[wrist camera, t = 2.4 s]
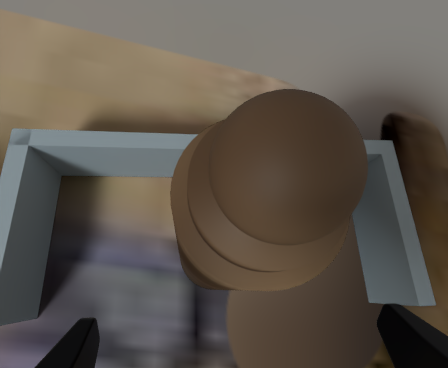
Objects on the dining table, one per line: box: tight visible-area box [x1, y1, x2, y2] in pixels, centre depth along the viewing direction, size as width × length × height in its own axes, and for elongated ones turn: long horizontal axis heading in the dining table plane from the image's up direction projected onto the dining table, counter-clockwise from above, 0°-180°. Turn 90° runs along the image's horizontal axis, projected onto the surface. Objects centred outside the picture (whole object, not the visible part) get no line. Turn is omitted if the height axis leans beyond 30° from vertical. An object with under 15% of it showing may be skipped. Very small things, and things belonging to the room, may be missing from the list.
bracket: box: [0, 129, 436, 326], centre depth 18 cm, size 10×23×4 cm, turn 92°
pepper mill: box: [170, 89, 368, 291], centre depth 12 cm, size 5×5×16 cm
